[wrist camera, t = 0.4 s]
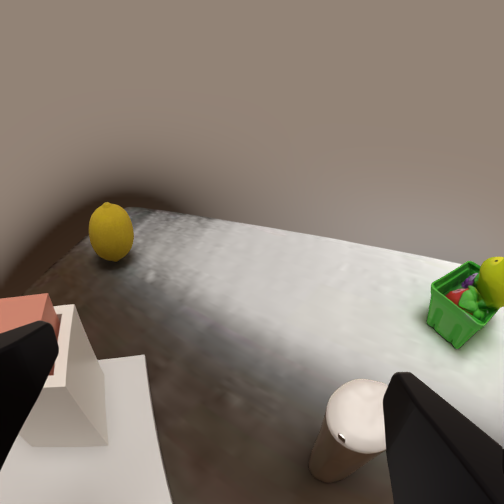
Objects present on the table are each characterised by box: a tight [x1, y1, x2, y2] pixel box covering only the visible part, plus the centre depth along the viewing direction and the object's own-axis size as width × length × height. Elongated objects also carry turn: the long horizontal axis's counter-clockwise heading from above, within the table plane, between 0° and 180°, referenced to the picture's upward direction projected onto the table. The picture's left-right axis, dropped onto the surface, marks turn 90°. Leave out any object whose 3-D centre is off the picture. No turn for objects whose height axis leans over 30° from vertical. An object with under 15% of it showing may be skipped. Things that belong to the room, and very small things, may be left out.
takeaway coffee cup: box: [308, 379, 388, 483], centre depth 16 cm, size 4×5×10 cm
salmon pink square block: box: [0, 293, 60, 376], centre depth 15 cm, size 4×4×3 cm
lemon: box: [89, 202, 134, 262], centre depth 35 cm, size 6×6×8 cm
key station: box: [0, 304, 173, 504], centre depth 14 cm, size 18×14×9 cm
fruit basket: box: [427, 257, 504, 349], centre depth 28 cm, size 11×9×11 cm
